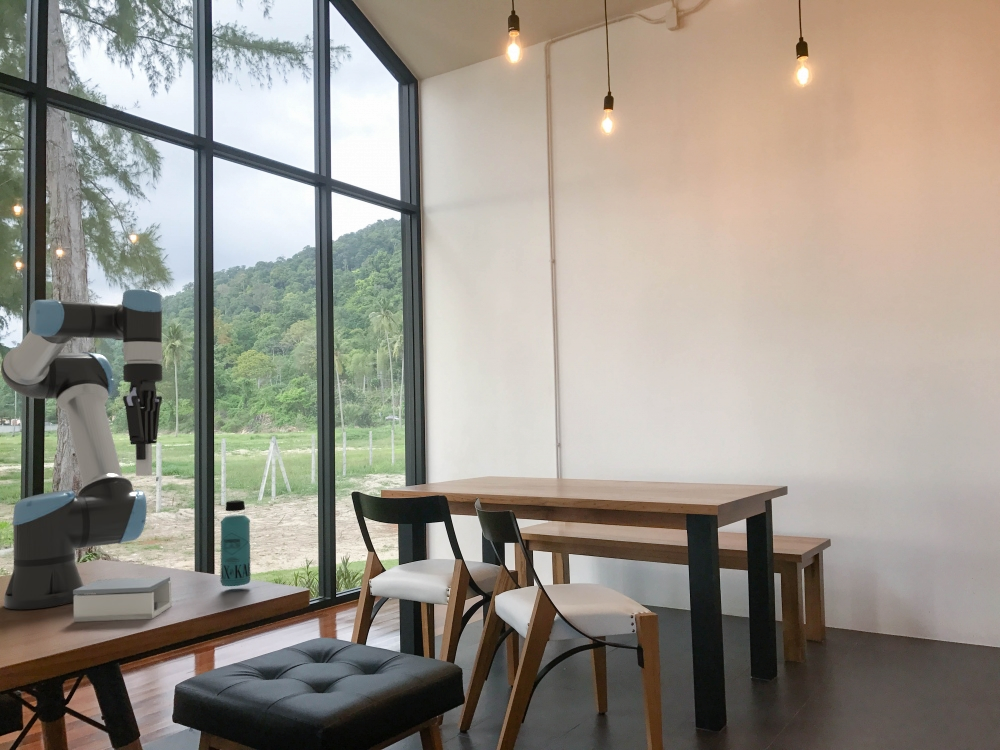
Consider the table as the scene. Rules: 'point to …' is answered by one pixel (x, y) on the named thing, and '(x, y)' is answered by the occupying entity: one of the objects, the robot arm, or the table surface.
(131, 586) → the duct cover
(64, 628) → the table surface
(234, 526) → the beverage bottle
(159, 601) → the white boxy piece
